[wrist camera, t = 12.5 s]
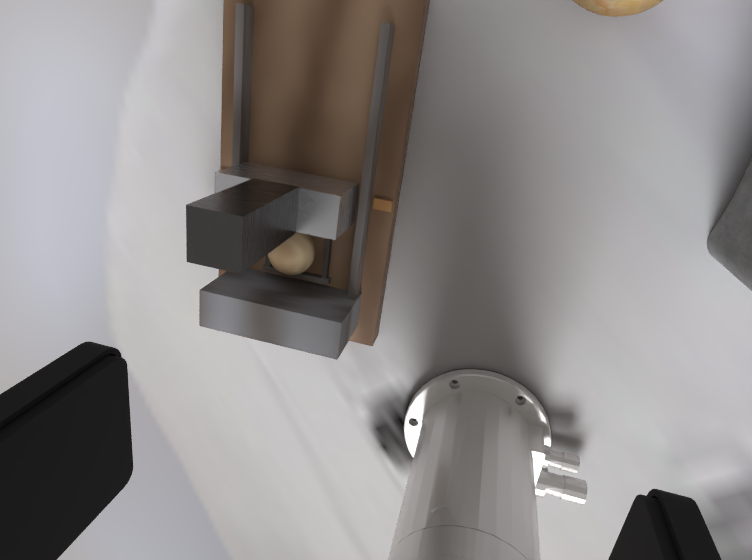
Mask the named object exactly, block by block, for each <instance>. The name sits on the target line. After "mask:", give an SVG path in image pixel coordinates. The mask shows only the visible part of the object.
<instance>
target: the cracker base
mask: <svg viewBox="0 0 752 560" xmlns="http://www.w3.org/2000/svg"><path fill="white" fill-rule="evenodd" d="M429 1H430V0H224V14H223V69H222V123H221V170H223V169H226V168H229V167H232V166H235V165H238V164H241V163H244V162H250V163H255V164H260V165H266V166H271V167H276V168H282V169H287V170H292V171H298V172H303V173H308V174H314V175H319V176H324V177H330V178H335V179H340V180H346V181H351V182H356V183H359V186H358V194H357V202H356V210H355V219H354V223H353V224H352V225H351V226H350V227H349V228H348V229H347V230H346V231H345V232H344V233H343V234H341V235H340V236H339V237H338V238H337V239H336V240H332V239H328V238H323V237H318V236H313V235H309V236H310V238H311V239H312V241H313V243H314V246H315V258H314V261H313V263H312V264H311V266H310V267H309V268H308V269H307V270H306V271H304V272H303V273H300V274H297V275H286V274H283V273H281V272H279V271H278V270H276V269H275V268H274V267H273V266H272V264H271V263H270V260H269V258H268V254H267V255H266V256H265V257H263V258H262V259H260V260H259V261H258V262H256V263H255V264H254V265H252V266H251V267H250V268H248V269H247V270H246V271H244V272H243V273H242V274H239V273H234V272H230V271H226V270H221V269H219V277H218V278H216V279H215V280H214V281H212V282H211V283H209V284H208V285H206V286H205V287H203V288H202V289H201V290H200V326H202V327H206V328H210V329H215V330H219V331H223V332H227V333H231V334H235V335H239V336H243V337H247V338H251V339H255V340H259V341H263V342H268V343H272V344H276V345H280V346H284V347H288V348H292V349H296V350H300V351H304V352H308V353H312V354H316V355H321V356H325V357H329V358H333V359H338V357H339V356H340V354H341V352H342V351H343V349H344V347H345V346H346V344H347V342H348V341H353V342H357V343H361V344H365V345H370V346H373V344H374V342H375V340H376V338H377V336H378V331H379V325H380V318H381V312H382V305H383V299H384V292H385V286H386V279H387V273H388V266H389V260H390V253H391V247H392V240H393V234H394V227H395V221H396V214H397V208H398V201H399V195H400V189H401V182H402V176H403V169H404V163H405V156H406V150H407V143H408V137H409V130H410V124H411V117H412V111H413V104H414V98H415V91H416V85H417V78H418V72H419V65H420V59H421V52H422V46H423V39H424V33H425V26H426V20H427V14H428V7H429Z"/></svg>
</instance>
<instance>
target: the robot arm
mask: <svg viewBox="0 0 752 560" xmlns="http://www.w3.org/2000/svg"><path fill="white" fill-rule="evenodd" d="M454 380H456V381H454ZM519 396H522V397H519ZM404 434H405V440H406V444H407V447H408V450H409V452H410V453H411V455H412V457H413V461H412V465H411V469H410V473H409V477H408V481H407V485H406V489H405V493H404V497H403V501H402V505H401V510H400V514H399V518H398V522H397V526H396V530H395V534H394V538H393V542H392V546H391V550H390V554H389V558H388V560H540V546H539V531H538V516H537V501H536V496H538V497H541V498H542V497H543V496H544V494H548V495H552V496H556V497H559V498H560V499H562V500H565V501H569V502H573V503H576V504H580V505H583V504H584V502H585V500H586V495H587V483H586V481H584V480H580V479H577V478H573V477H569V476H565V475H563V476H561V475H557V474H554V473H550V472H548V468H547V466H552V467H556V468H559V469H560V470H564V471H568V472H571V473H575V474H576V473H577V472H578V469H579V464H580V458H579V456H575V455H571V454H568V453H564V452H563V453H560V452H556V451H553V450H551V444H552V438H551V429H550V424H549V420H548V417H547V415H546V413H545V411H544V408H543V407H542V405H541V404H540V403H539V401H538V400H537V399H536V397H535V396H534V395H533V394H532V393H531V392H530V391H528V390H527V389H526V388H525V387H524V386H522V385H521V384H519V383H518V382H516V381H514V380H513V379H511V378H508V377H506V376H504V375H501V374H499V373H495V372H491V371H486V370H477V369H464V370H455V371H451V372H448V373H444V374H441V375H439V376H437V377H435V378H433V379H431V380H430V381H429V382H427V383H426V384H425V385H423V386H422V387H421V388H420V389H419V390H418V391H417V393H416V394H415V395H414V396H413V398H412V400H411V402H410V404H409V406H408V410H407V413H406V416H405V423H404ZM131 440H132V439H131V422H130V406H129V390H128V372H127V363H126V361H125V359H123V358H122V357H121V353H120V352H119V350H117V349H116V348H113V347H108V346H105V345H101V344H97V343H93V342H85V343H82V344H80V345H78V346H77V347H75V348H74V349H72V350H70V351H69V352H67V353H66V354H64V355H62V356H61V357H59V358H58V359H56V360H55V361H53V362H51V363H50V364H48V365H47V366H45V367H43V368H42V369H40V370H39V371H37V372H35V373H34V374H32V375H31V376H29V377H27V378H26V379H24V380H23V381H21V382H20V383H18V384H16V385H15V386H13V387H11V388H10V389H8V390H7V391H5V392H3V393H2V394H0V560H57V559H58V557H59V556H60V555H61V554H62V553H63V552H64V551H65V550H66V549H67V548H68V547H69V546H70V545H71V544H72V543H73V541H74V540H75V539H76V538H77V537H78V536H79V535H80V534H81V533H82V532H83V531H84V530H85V529H86V527H87V526H88V525H89V524H90V523H91V522H92V521H93V520H94V519H95V518H96V517H97V516H98V515H99V513H101V511H102V510H103V509H104V508H105V507H106V506H107V505H108V504H109V503H110V502H111V501H112V500H113V499H114V498H115V496H116V495H117V494H118V493H119V492H120V491H121V490H122V489H123V488H124V487H125V485H126V484H127V483H128V481H129V479H130V477H131V475H132V471H133V457H132V441H131ZM609 560H721V558H720V555H719V553H718V551H717V549H716V546H715V544H714V542H713V539H712V537H711V535H710V533H709V530H708V528H707V526H706V524H705V521H704V519H703V517H702V515H701V512H700V510H699V508H698V506H697V504H696V502H695V501H694V500H693V499H691V498H688V497H685V496H681V495H677V494H673V493H669V492H665V491H662V490H658V489H652V490H651V491H650V492H649V493H648V495H647V496H644V495H638V496H636V498H635V500H634V502H633V504H632V506H631V509H630V511H629V513H628V516H627V518H626V520H625V523H624V525H623V527H622V529H621V532H620V534H619V536H618V539H617V541H616V543H615V546H614V548H613V550H612V553H611V555H610V557H609Z"/></svg>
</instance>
